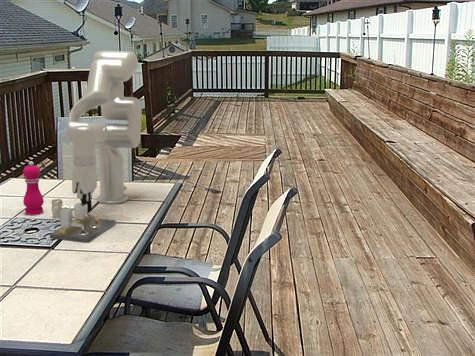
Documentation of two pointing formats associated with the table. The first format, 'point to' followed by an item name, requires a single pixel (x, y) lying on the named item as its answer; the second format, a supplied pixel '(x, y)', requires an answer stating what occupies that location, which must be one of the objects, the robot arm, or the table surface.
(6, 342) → the table surface
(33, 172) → the magenta pepper mill
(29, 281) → the table surface
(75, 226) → the bolt plate
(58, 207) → the valve
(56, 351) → the table surface
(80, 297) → the table surface
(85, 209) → the block
